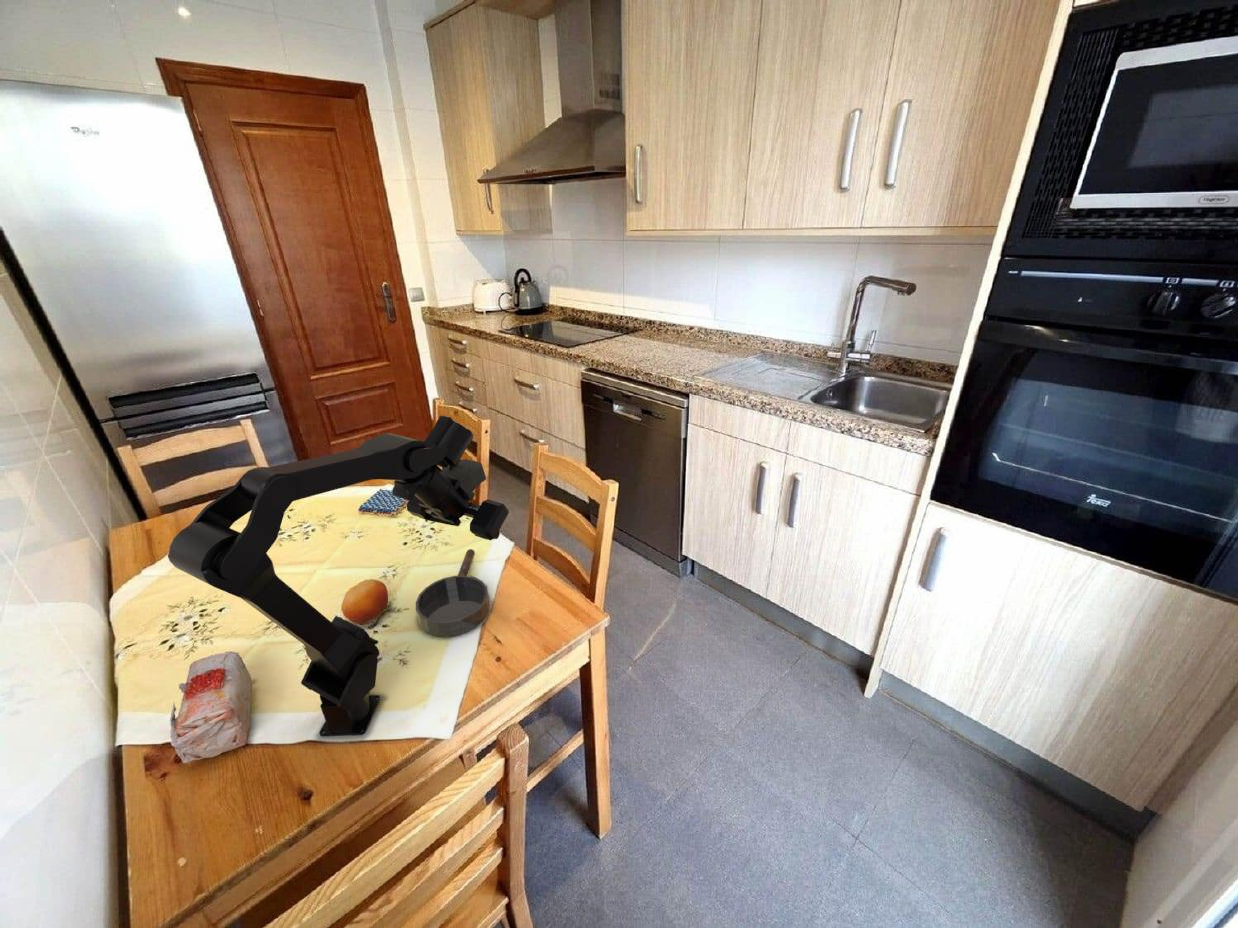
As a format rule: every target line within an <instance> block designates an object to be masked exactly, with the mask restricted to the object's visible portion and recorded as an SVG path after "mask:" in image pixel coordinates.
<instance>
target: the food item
mask: <svg viewBox="0 0 1238 928" xmlns="http://www.w3.org/2000/svg"><path fill="white" fill-rule="evenodd" d="M252 686H253V685H252V675H251V673H250V671H249V670H248V669H247V667H246V664H245V662H244V660H243V657H242V656H241V655H240V653H239V652H235V651H225V652H221V653H215V654H211V655H209V656H206V657H203V658H200V659H197V660H195V661H193V662H191V663H190V664H189V669H188V674H187V677H186V681H185V683H183V682H182V683H178V689H179V690H181V693H183V694H182V695H183V696H182V697H181V702H180V708H179V711H178V714H177V717H176V710H177V707H176V705H175V702H174V703H173V705H172V709H171V715H170V718H169V722H170V734H169V735H170V745H171V747H173V748H174V749H175V753H176V755H177V756H178V757H179V758H180V759H181V762H182V763H183V764H185V765H186V764H187V765H188V764H191V763H192V762H194V761H199V760H202V759H206V758H207V759H208V758H209V759H210V758H214V757H217V756H219V755H221V754H222V753H227V752H230V751H233V750H236V749H238V748H240V747H244V746H246V744H247V741H248V735H249V729H250V720H251V719H250V718H251V703H252V688H253V687H252Z"/></svg>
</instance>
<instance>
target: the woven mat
mask: <svg viewBox="0 0 1238 928" xmlns="http://www.w3.org/2000/svg"><path fill="white" fill-rule="evenodd" d="M408 501H409V500H405V499H402V498H399V497H396V496H393V495H392V489H391V490H388V489H382V488H380V489H379V490H377V491H376V492H374V493H373V494H372V495H371V496H370V497H369V498H368V499H366V501H364V502H363V503H362V504H360V506H359V508H358V510H357V511H358V512H359V513H360V514H366V515H376V514H377V515H379V516H390V517H391V516H396V515H399V513H400V511H401V510H403V509H404V508H407V503H408Z"/></svg>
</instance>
